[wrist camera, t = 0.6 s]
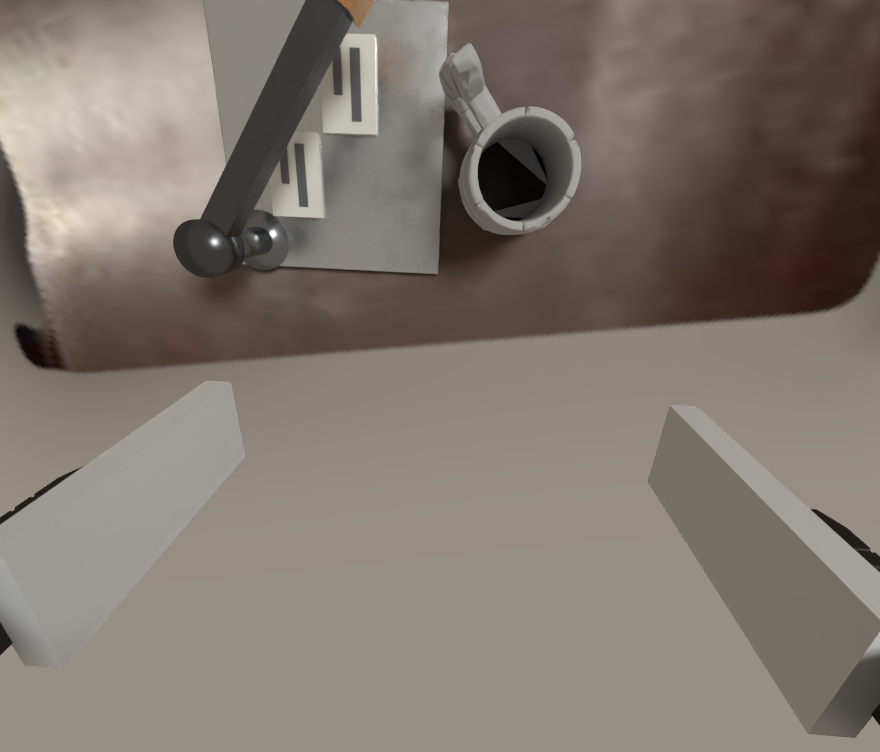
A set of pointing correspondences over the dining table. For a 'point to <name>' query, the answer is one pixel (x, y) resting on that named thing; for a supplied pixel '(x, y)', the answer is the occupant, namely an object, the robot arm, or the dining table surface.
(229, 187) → the grey lever orange grip
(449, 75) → the mug
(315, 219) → the plate
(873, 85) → the dining table surface
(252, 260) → the grey metal knob
